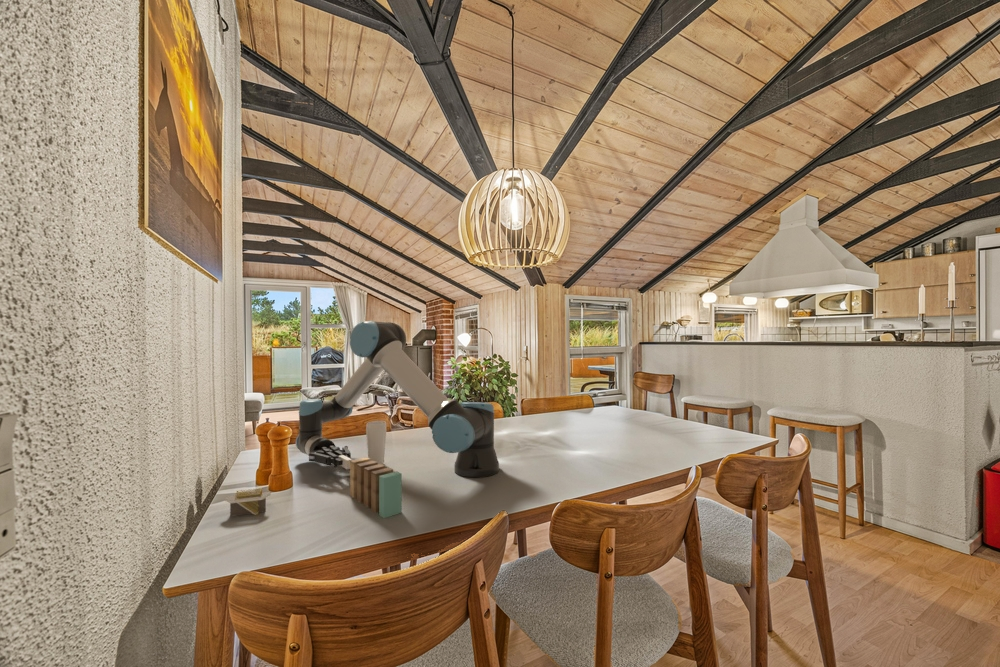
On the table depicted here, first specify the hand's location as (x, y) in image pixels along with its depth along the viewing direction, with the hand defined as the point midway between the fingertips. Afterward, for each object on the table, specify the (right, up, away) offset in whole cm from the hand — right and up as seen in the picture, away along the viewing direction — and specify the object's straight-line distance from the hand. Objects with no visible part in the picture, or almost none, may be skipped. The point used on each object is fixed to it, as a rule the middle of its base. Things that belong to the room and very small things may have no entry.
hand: (349, 464), depth 122 cm
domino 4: (+14, -7, -15) cm, 22 cm away
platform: (-19, -8, -19) cm, 28 cm away
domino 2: (+8, -7, -9) cm, 14 cm away
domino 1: (+5, -7, -5) cm, 10 cm away
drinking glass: (+1, -7, +22) cm, 23 cm away
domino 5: (+17, -7, -18) cm, 26 cm away
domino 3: (+11, -7, -12) cm, 18 cm away
